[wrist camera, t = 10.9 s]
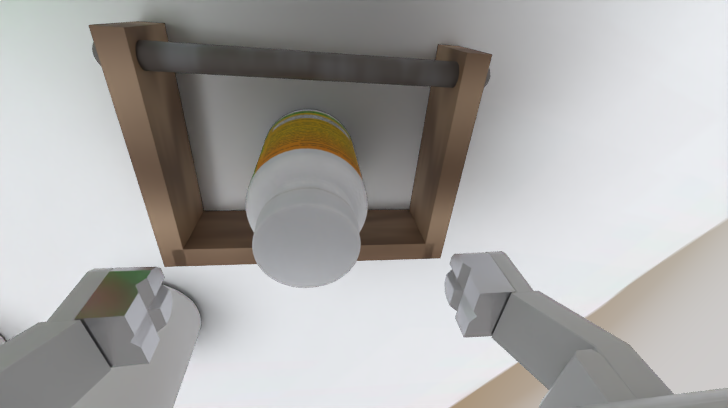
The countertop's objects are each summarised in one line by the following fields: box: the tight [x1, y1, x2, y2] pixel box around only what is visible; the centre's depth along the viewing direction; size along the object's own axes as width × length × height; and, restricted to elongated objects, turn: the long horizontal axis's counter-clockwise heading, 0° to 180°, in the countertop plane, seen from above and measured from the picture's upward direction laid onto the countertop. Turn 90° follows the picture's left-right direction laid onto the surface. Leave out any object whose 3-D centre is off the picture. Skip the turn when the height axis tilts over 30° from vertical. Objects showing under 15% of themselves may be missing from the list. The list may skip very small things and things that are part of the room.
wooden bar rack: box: [89, 21, 492, 267], centre depth 18 cm, size 12×18×4 cm
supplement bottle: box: [246, 109, 368, 288], centre depth 16 cm, size 5×5×10 cm
